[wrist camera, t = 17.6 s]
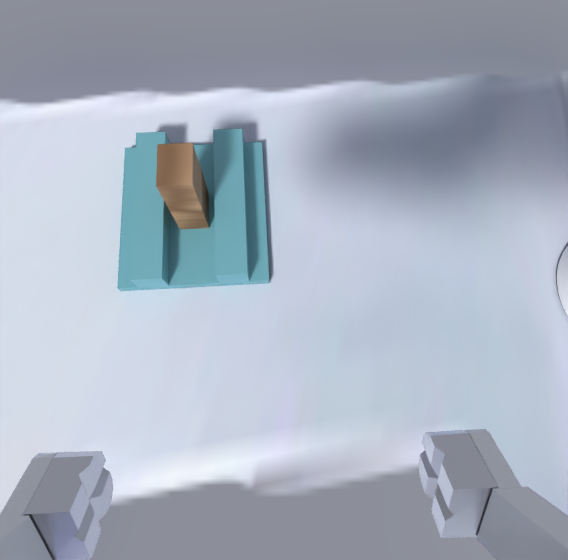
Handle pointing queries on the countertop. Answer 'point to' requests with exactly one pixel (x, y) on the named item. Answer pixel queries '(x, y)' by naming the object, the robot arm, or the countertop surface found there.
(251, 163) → the slotted rack
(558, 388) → the countertop surface
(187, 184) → the brown rectangular block
